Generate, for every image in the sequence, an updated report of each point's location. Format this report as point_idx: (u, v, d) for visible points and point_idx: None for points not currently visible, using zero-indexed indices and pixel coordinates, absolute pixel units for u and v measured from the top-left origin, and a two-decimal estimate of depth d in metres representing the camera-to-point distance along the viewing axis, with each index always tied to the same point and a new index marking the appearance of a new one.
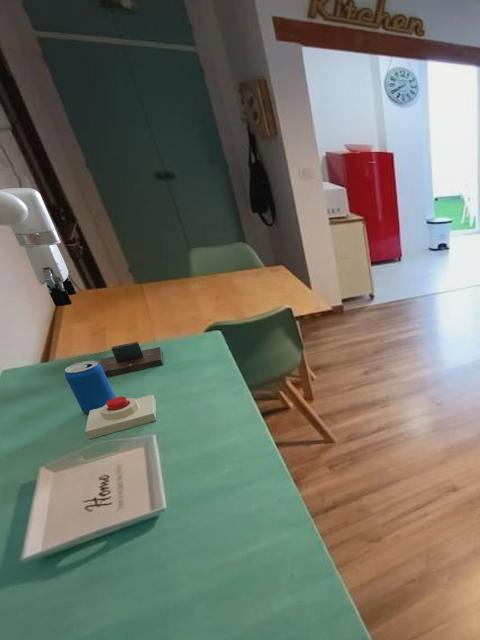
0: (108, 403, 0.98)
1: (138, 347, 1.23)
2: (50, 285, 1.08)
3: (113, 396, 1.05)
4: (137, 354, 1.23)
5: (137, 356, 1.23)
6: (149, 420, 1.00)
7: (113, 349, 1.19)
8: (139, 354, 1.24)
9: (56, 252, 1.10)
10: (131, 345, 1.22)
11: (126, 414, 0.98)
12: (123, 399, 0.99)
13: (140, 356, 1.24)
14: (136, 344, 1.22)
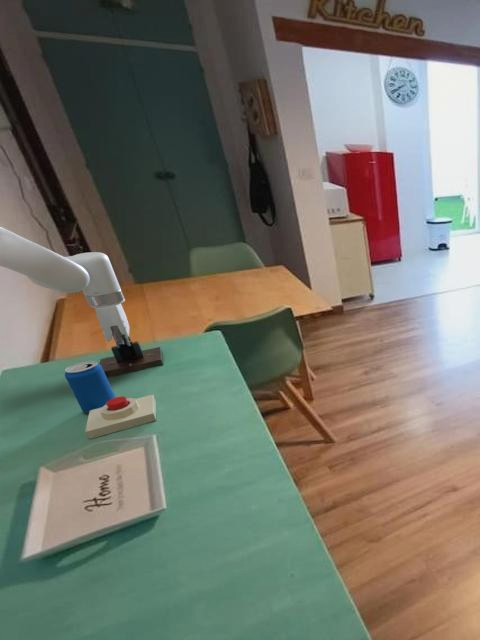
0: (108, 403, 0.98)
1: (138, 347, 1.23)
2: (120, 344, 1.17)
3: (113, 396, 1.05)
4: (137, 354, 1.23)
5: (137, 356, 1.23)
6: (149, 420, 1.00)
7: (113, 349, 1.19)
8: (139, 354, 1.24)
9: (121, 310, 1.17)
10: None
11: (126, 414, 0.98)
12: (123, 399, 0.99)
13: (140, 356, 1.24)
14: (136, 344, 1.22)
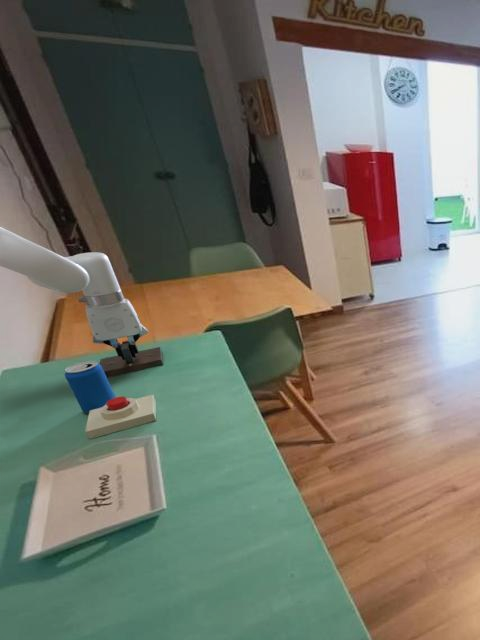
0: (108, 403, 0.98)
1: None
2: (141, 335, 1.23)
3: (113, 396, 1.05)
4: None
5: None
6: (149, 420, 1.00)
7: (128, 348, 1.20)
8: None
9: None
10: (128, 343, 1.23)
11: (126, 414, 0.98)
12: (123, 399, 0.99)
13: None
14: None
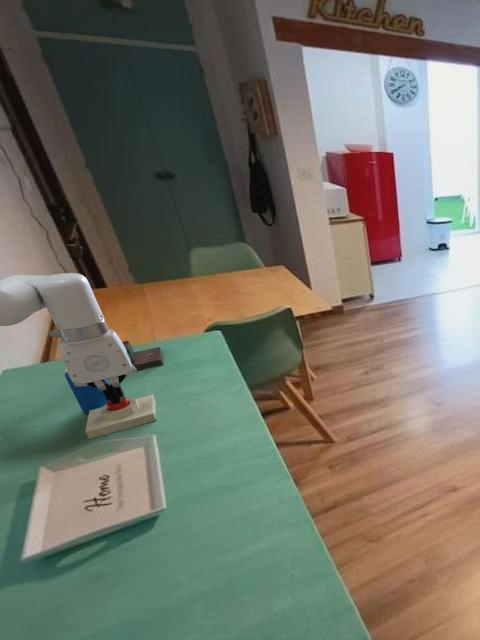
0: (108, 403, 0.98)
1: (130, 344, 1.24)
2: None
3: None
4: (132, 351, 1.24)
5: (133, 354, 1.25)
6: (149, 420, 1.00)
7: (128, 348, 1.20)
8: None
9: None
10: (128, 343, 1.23)
11: (126, 414, 0.98)
12: (123, 399, 0.99)
13: None
14: None
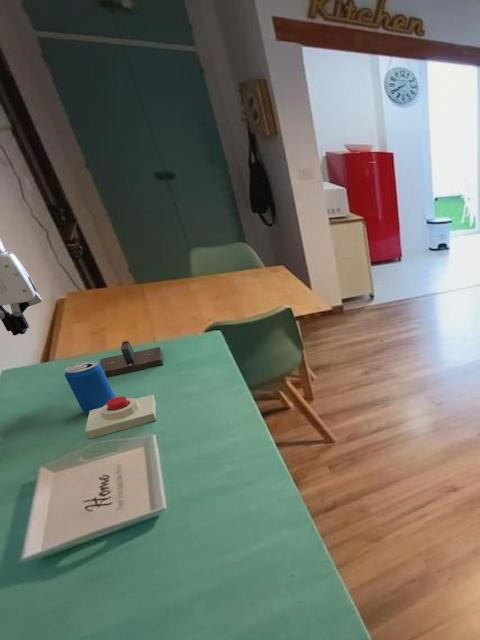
0: (108, 403, 0.98)
1: (130, 344, 1.24)
2: (31, 305, 0.90)
3: (113, 396, 1.05)
4: (132, 351, 1.24)
5: (133, 354, 1.25)
6: (149, 420, 1.00)
7: (128, 348, 1.20)
8: None
9: None
10: (128, 343, 1.23)
11: (126, 414, 0.98)
12: (123, 399, 0.99)
13: None
14: None
